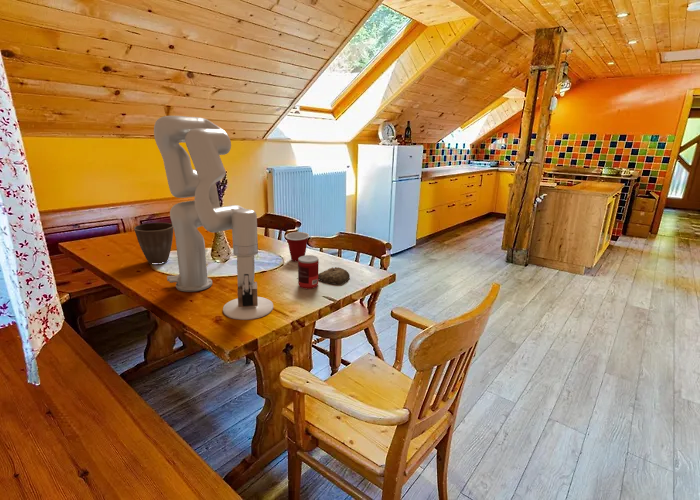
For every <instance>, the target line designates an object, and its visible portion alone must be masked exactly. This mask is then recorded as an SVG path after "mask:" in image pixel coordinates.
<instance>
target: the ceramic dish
mask: <svg viewBox="0 0 700 500" xmlns="http://www.w3.org/2000/svg"><path fill="white" fill-rule="evenodd" d="M257 297H258V306H248V307H238V297H237V298H235V299H232V300H230V301H228V302H226V303H225V304H224V305H223V308H222V313H223V315H225V316H226V317H228V318H230V319H233V320H240V321H242V320H243V321H249V320H257V319H259V318H262V317H265V316H267V315H269V314H270V313H271V312H273V309H274V303H273V301H272V300H270V299H268V298H265V297H262V296H257Z"/></svg>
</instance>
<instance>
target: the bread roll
mask: <svg viewBox="0 0 700 500" xmlns="http://www.w3.org/2000/svg"><path fill="white" fill-rule="evenodd" d="M349 279H350V273H349V272H348V271H347V270H346V269H344V268H342V267H331V268H330V267H329V268H328V269H325V270H324V271H322V272H318V281H320V282H323V283H327V284H332V285H342V284H345V283H347V282H348V281H349Z"/></svg>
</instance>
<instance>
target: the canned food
mask: <svg viewBox="0 0 700 500" xmlns="http://www.w3.org/2000/svg"><path fill="white" fill-rule="evenodd" d="M319 263H320V262H319V257H318V256H315V255H310V254H309V255H308V254H307V255H306V254H305V256H301V257H299V258H298V262H297V271H298V273H297V278H298V280H297V281H298V283H297V284H298V287H299V288H301V289H303V290H312V289H315V288H317V287H318V285H319V280H318V274H319V267H320V266H319V265H320V264H319Z"/></svg>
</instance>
